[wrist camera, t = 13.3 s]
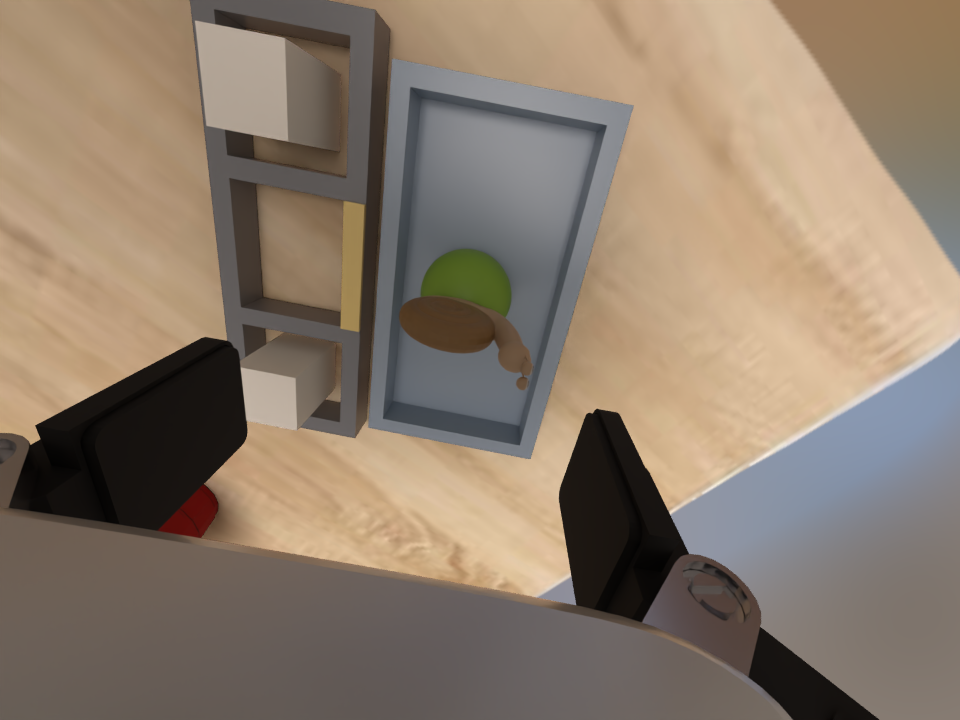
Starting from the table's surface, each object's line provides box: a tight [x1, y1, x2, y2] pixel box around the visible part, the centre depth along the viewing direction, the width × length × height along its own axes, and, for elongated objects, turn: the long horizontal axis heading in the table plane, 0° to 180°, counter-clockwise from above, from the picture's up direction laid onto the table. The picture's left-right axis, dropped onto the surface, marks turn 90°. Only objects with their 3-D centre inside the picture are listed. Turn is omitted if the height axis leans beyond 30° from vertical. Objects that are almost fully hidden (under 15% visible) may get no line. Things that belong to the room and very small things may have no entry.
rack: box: [190, 0, 390, 438], centre depth 25 cm, size 26×9×3 cm, turn 170°
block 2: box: [240, 333, 336, 431], centre depth 27 cm, size 4×4×6 cm
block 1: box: [195, 21, 341, 152], centre depth 20 cm, size 4×4×6 cm
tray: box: [368, 59, 633, 459], centre depth 25 cm, size 22×12×4 cm, turn 170°
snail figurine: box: [399, 249, 534, 390], centre depth 20 cm, size 5×6×12 cm
